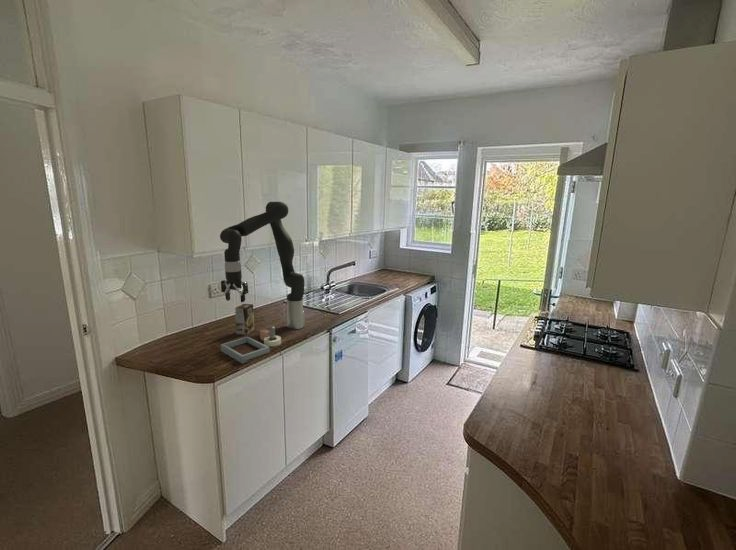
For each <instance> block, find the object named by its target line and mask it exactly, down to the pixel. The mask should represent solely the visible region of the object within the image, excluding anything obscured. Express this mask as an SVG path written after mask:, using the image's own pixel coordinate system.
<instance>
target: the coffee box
mask: <svg viewBox="0 0 736 550" xmlns="http://www.w3.org/2000/svg"><path fill="white" fill-rule="evenodd" d="M234 309H235V310H234V312H235V314H234V315H235V329H236V330H235V331H236V332H235V334H236V335H244V336H245V335H249V334H250V333H251V332H252V331H254V330H255V322H254V321H255V319H254V318H255V317H254V315H255V314H254V304H252V303H251V304H250V303H241V305H238V306H236V307H235V308H234Z"/></svg>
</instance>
